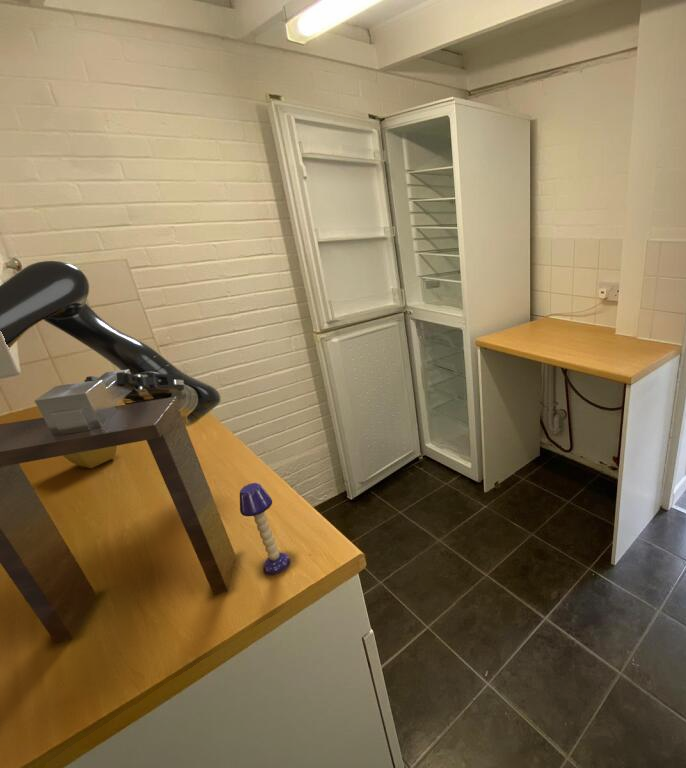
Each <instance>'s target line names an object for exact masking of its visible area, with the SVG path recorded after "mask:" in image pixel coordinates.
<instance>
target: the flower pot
mask: <svg viewBox="0 0 686 768" xmlns="http://www.w3.org/2000/svg"><path fill="white" fill-rule="evenodd" d="M117 449H118V445H117V446H112V447H106V448H101V449H95V450H90V451H85V452H79V453H74V454H68V455H63V456H62V457H64V458H65V459H66V460H68V461H69V462H71V463H72V464H74V465H77V466H79V467H83V468H87V469H94V468H96V467H97V466H100V465H102V464H104V463H106V462H108V461H111V460H112V459H114V457H115V456H116V453H117Z"/></svg>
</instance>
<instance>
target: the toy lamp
mask: <svg viewBox="0 0 686 768" xmlns="http://www.w3.org/2000/svg"><path fill="white" fill-rule="evenodd" d="M272 505H273V499H272V497H271V495H269V493H268V492H267V491H266V489H265V488H264V487H263V486H262V485H261V484H260V483H258V482H252V483H248V484H246V485H244V486H243V487H242V488H241V489H240V491H239V513H240V514H241V515H242V516H244V517H253V518H254V522H255V524H256V528H257V531H258V532H259V537H260V538H261V540H262V544H263V546H265V552H266V553H267V556H268V557H267V558H266V559H265V561H264V563H263V572H264V574H266V575H268V576H274V575H277V574H280V573H282V572H284V571H285V570H286V569H287V568H288V567H289V566H290V563H291V558H290V557H289V554H287V553H284V552H280V551H279V549H278V545H277V543H276V542H275V536H273V533H272V530H271V528H270V523H269V522H268V521H267V520H268V517H267V515H266V514H265V512H266V511H267V510H269V509H270V508H271V506H272Z"/></svg>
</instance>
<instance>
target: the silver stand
mask: <svg viewBox="0 0 686 768" xmlns="http://www.w3.org/2000/svg"><path fill="white" fill-rule="evenodd" d="M119 372H125V373H128V374H131V373H130V371H129V369H128V370H120V369H119V370H114V371H106V372H104V373H103V374H101V375H100V376H98V377H99V378H98V379H97V380H95V381H89V382H84V381H82V382H75V383H74V382H73V383H67V384H61V385H59V384H58V385H55V386H54V387H52V388H51V389H49V390H47V391H46V392H44V393H43V394H41V395H40V396H39V397H37V398H36V399H34V403H35V405H36V406H37V409H38V410H39V412H40V414H41V416H42V418H44V420H45V421H46V423H47V425H48V427H49V429H50V431H51V433H52V434H53V435H57V434H61V435H65V434H71V433H77V432H83V431H89V430H91V429H93V428H99V427H102V426H103V425H104V424H105V423H106V422H107V421H108V420H109V419H110V418H111V417H112V416H113V415H114V414H115V413H116V412H117V410H116V408H115V406H118V404H119V403H120V402H122V401H121V400H122V399H123V398H124V397H125V396H126V395H127V394H128V393H129V392H131V391H132V390H133V389H127V388H124V387H120V386H119V385H118V380H117V373H119Z"/></svg>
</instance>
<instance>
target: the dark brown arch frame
mask: <svg viewBox="0 0 686 768" xmlns="http://www.w3.org/2000/svg"><path fill="white" fill-rule="evenodd" d="M115 408H116V410H117V412H116V413H115V414H114V415H113V416H112V417H111V418H110V419H109V420H108V421H107V422H106V423H105V424H104V425H103V426H102V427H99V428H93V429H91V430H89V431H83V432H77V433H71V434H65V435H61V434H57V435H53V434H52V433H51V431H50V429H49V427H48V425H47V423H46V421H45V420H44V418H43V417H38V418H37V417H36V418H31V419H24V420H19V421H13V422H5V423H1V424H0V565H1V566H2V568H3V569H4V571H5V572H6V574H7V575H8V576H9V578H10V579H11V581H12V582H13V584H14V586H16V589H18V591H19V592H20V594H21V595H22V597H23V598H24V600H25V601H26V603H27V604H28V605H29V607H30V608H31V610H32V611H33V612H34V614H35V616H36V617H37V619H38V620H39V621H40V623H41V624H42V625H43V627H44V629H45V630H46V631H47V632H48V635H49V636H50V638H51V639H52V641H54V643H55V644H59V643H62V642H64V641H68V640H71V639H74V637H75V636H76V634H77V632H78V630H79V629H80V627H81V625H82V624H83V622H84V620H85V618H86V616H87V615H88V613H89V612H90V610H91V608H92V606H93V604H94V602H95V601H96V600H97V597H98V595H97V593H96V591H95V589H94V588H93V587H92V585H91V583H90V582H89V579H88V577H86V574H85V572H84V571H83V570H82V568H81V567H80V564H79V563H78V561H77V559H76V558H75V556H74V554H73V553H72V551H71V549H70V547H69V545H68V544H67V543H66V541H65V539H64V537H63V536H62V534H61V533H60V530H59V529H58V528H57V526H56V524H55V522H54V520H53V519H52V517H51V516H50V514H49V512H48V510H47V509H46V507H45V505H44V504H43V502H42V500H41V499H40V496H39V495H38V493H37V492H36V490H35V489H34V487H33V485H32V483H31V482H30V479H29V478H28V476H27V474H26V473H25V472H24V470H23V468H22V466H21V464H24V463H30V462H35V461H41V460H46V459H52V458H56V457H64V456H63V455H68V454H74V453H79V452H85V451H90V450H95V449H101V448H106V447H112V446H117V447H118V446H122V445H123V446H124V445H128V444H133V443H138V442H139V443H140V442H143V441H146V443H147V445H148V447H149V449H150V452H151V454H152V456H153V458H154V461H155V463H156V465H157V468H158V470H159V472H160V474H161V477H162V479H163V481H164V484H165V485H166V488H167V490H168V493H169V495H170V497H171V500H172V502H173V504H174V508H175V510H176V511H177V513H178V516H179V518H180V522H181V523H182V525H183V527H184V530H185V532H186V534H187V537H188V539H189V541H190V544H191V546H192V548H193V550H194V553H195V555H196V557H197V559H198V561H199V564H200V566H201V569H202V571H203V573H204V576H205V578H206V580H207V583H208V584H209V587H210V589H211V592H212V594H213V596H217V595H219V594H224V593H227V592H228V591H229V588H230V584H231V581H232V576H233V572H234V567H235V564H236V559H237V556H236V553H235V551H234V548H233V545H232V543H231V541H230V538H229V534H228V533H227V530H226V527H225V524H224V522H223V519H222V517H221V514H220V512H219V509H218V507H217V504H216V501H215V499H214V496H213V494H212V491H211V489H210V486H209V484H208V480H207V479H206V476H205V473H204V471H203V468H202V465H201V463H200V460H199V458H198V455H197V452H196V450H195V447H194V445H193V443H192V440H191V437H190V434H189V432H188V429H187V427H186V426H185V424H184V421H183V419H182V416H181V414H180V411H179V410H180V409H181V406H180V403H179V401H178V398H177V397H171V398H164V399H158V400H152V401H145V402H139V403H133V404H121V405H116V406H115Z"/></svg>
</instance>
